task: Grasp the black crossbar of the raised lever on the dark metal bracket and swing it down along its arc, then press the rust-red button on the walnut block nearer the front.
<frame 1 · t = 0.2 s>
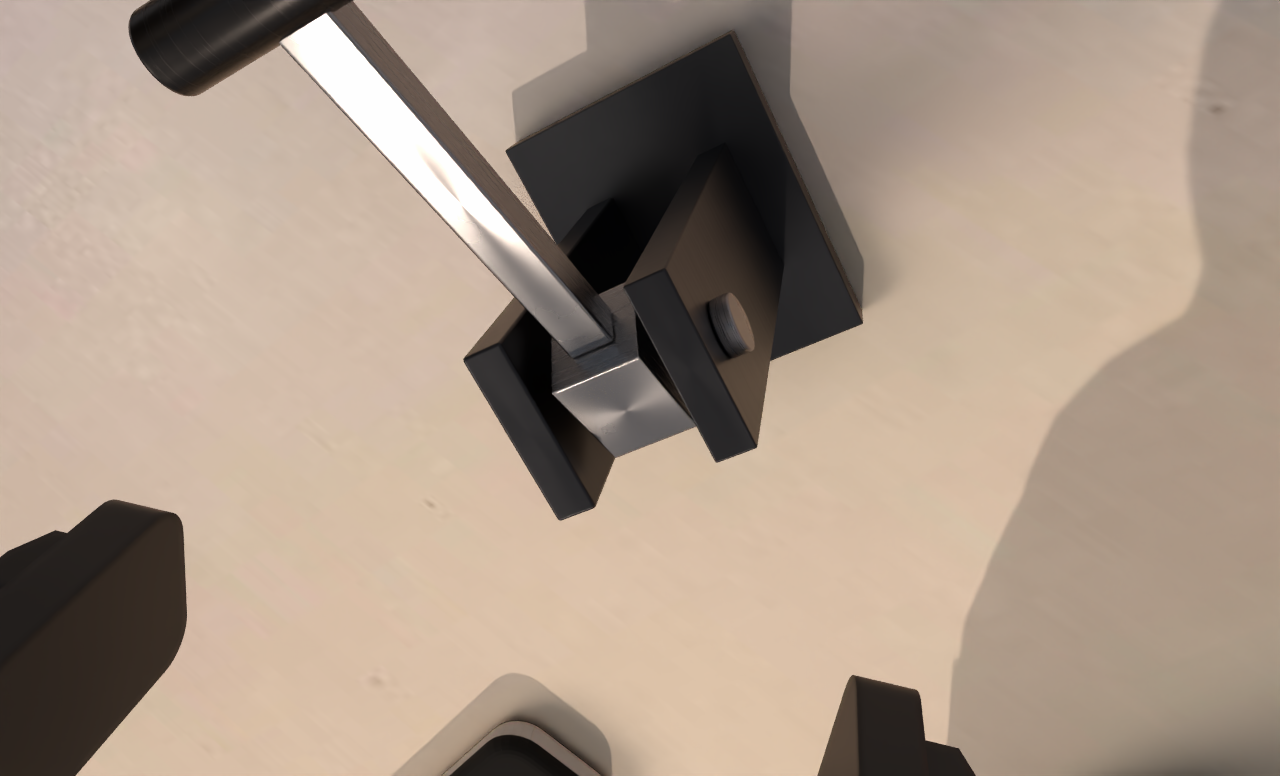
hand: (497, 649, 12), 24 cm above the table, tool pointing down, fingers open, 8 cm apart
lever: (493, 222, 21), point 14 cm above the table, hinge at 28.0°
bracket: (689, 227, 35), on the table
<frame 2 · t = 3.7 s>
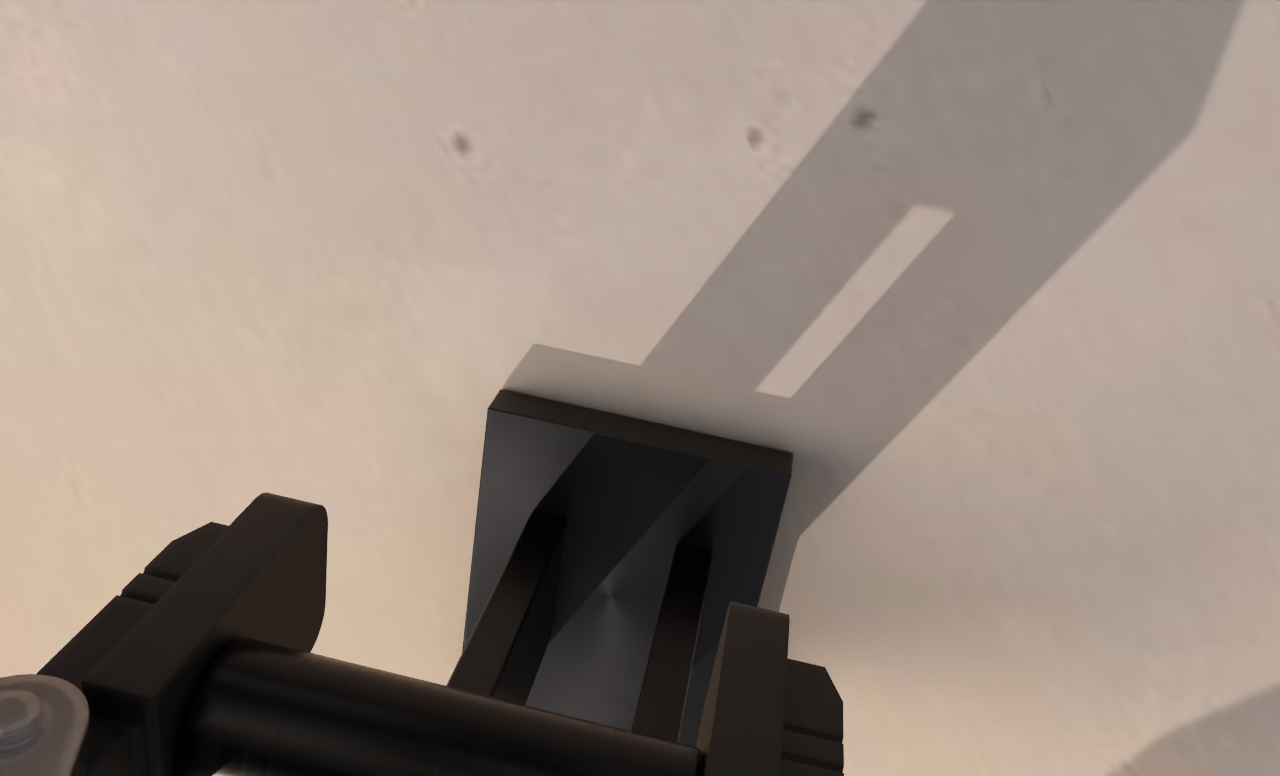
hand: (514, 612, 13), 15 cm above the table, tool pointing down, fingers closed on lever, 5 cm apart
bracket: (617, 571, 30), on the table
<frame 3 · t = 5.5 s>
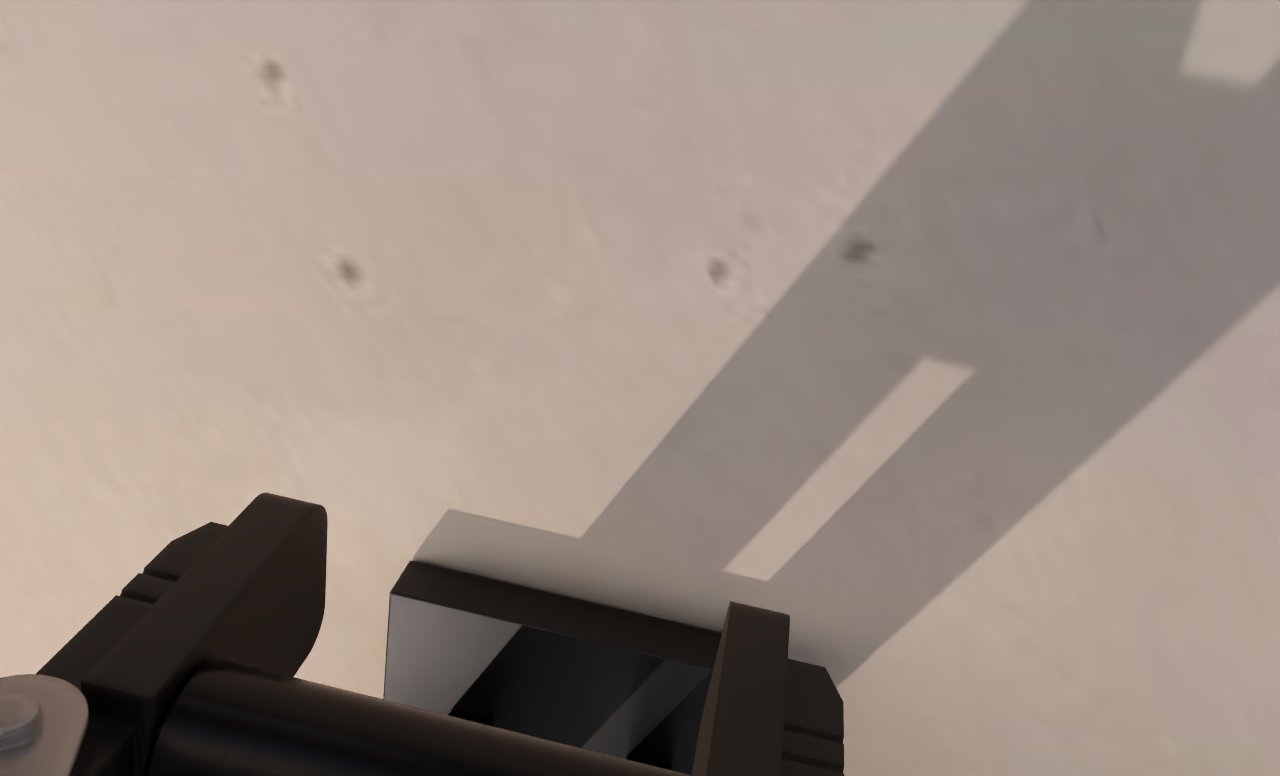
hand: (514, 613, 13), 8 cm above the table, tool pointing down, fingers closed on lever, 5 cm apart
bracket: (560, 769, 25), on the table
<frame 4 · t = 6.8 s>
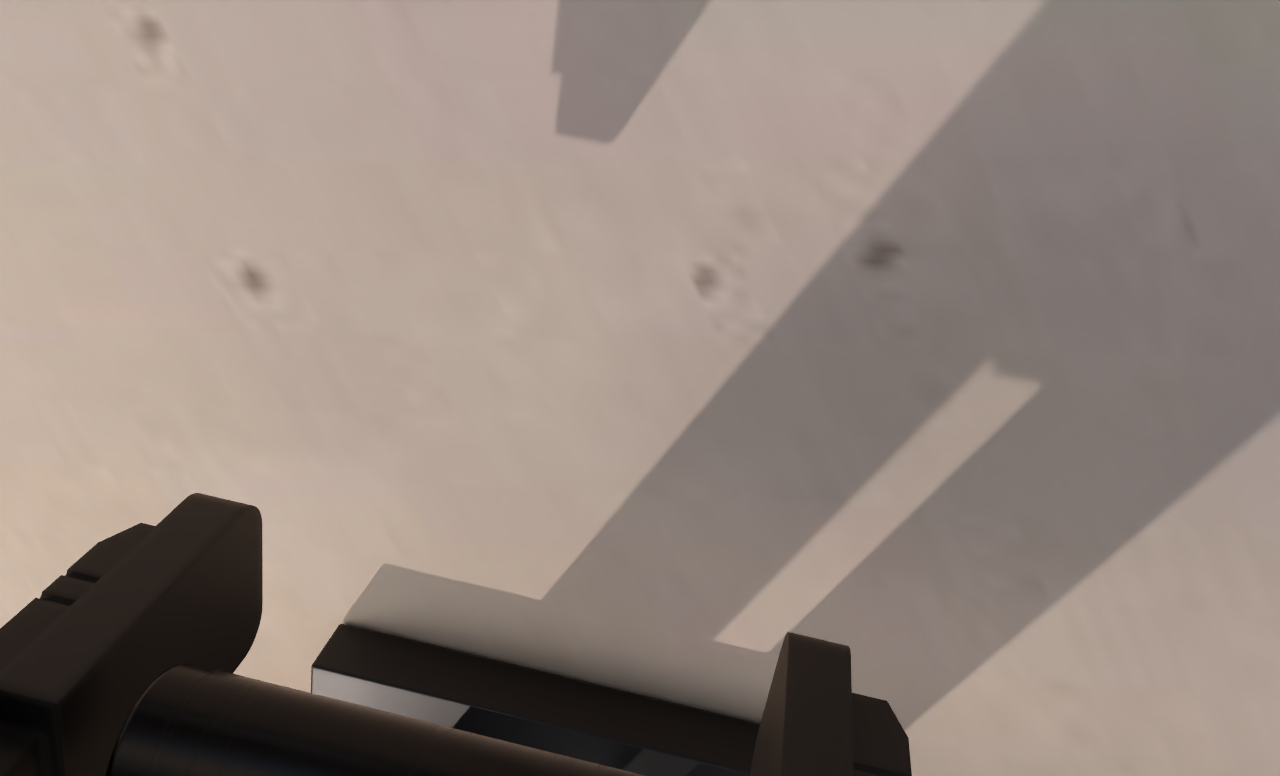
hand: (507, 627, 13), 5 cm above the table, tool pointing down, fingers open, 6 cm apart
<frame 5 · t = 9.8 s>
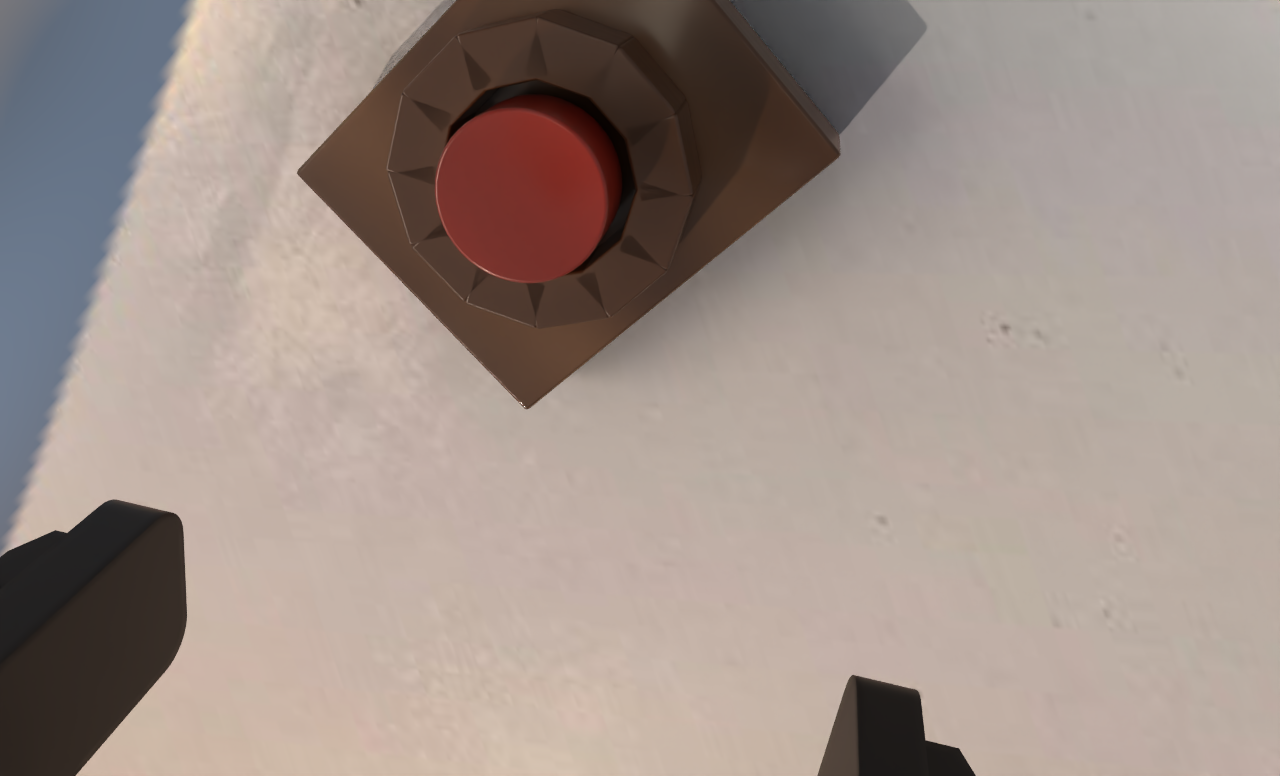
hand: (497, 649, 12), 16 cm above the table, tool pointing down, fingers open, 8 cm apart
button block: (576, 145, 26), on the table
button: (530, 188, 22), point 4 cm above the table, slide at 0.1 cm
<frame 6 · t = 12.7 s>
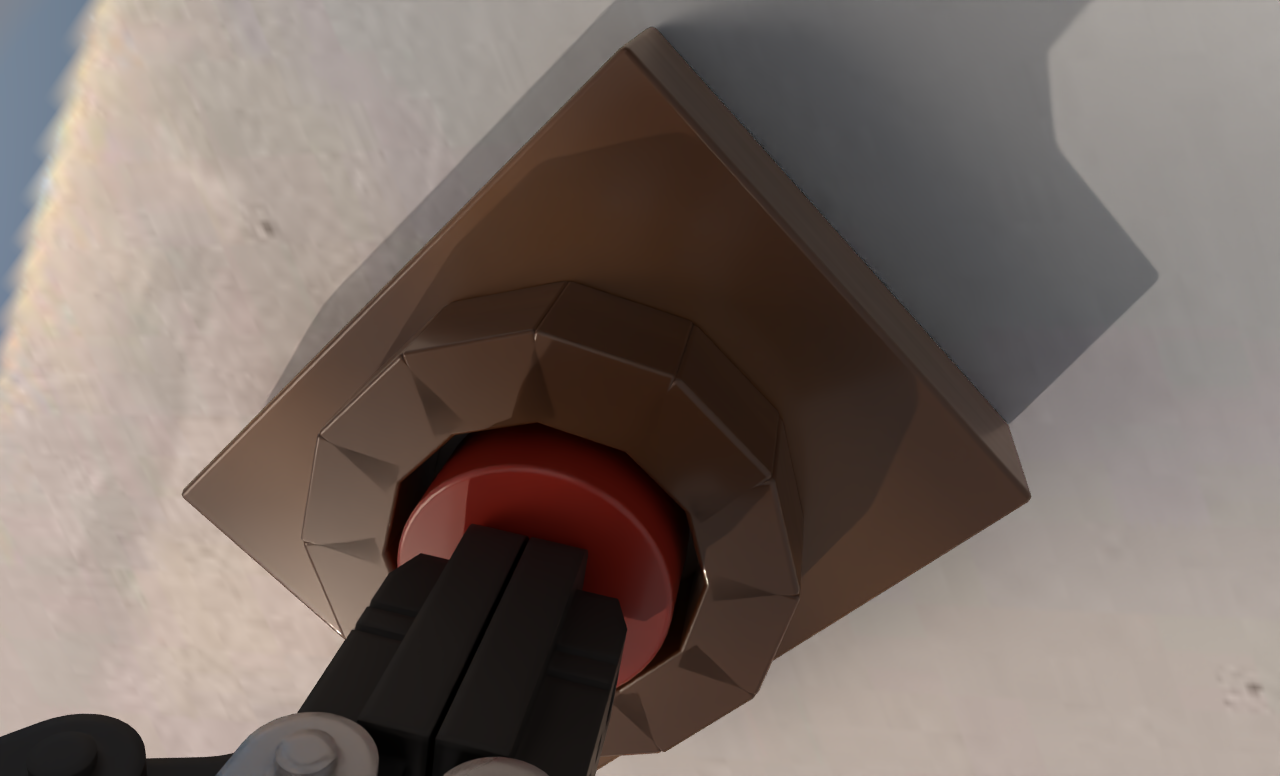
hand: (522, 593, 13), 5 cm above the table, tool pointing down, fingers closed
button block: (602, 429, 17), on the table
button: (548, 553, 14), point 4 cm above the table, slide at -0.8 cm, touching gripper
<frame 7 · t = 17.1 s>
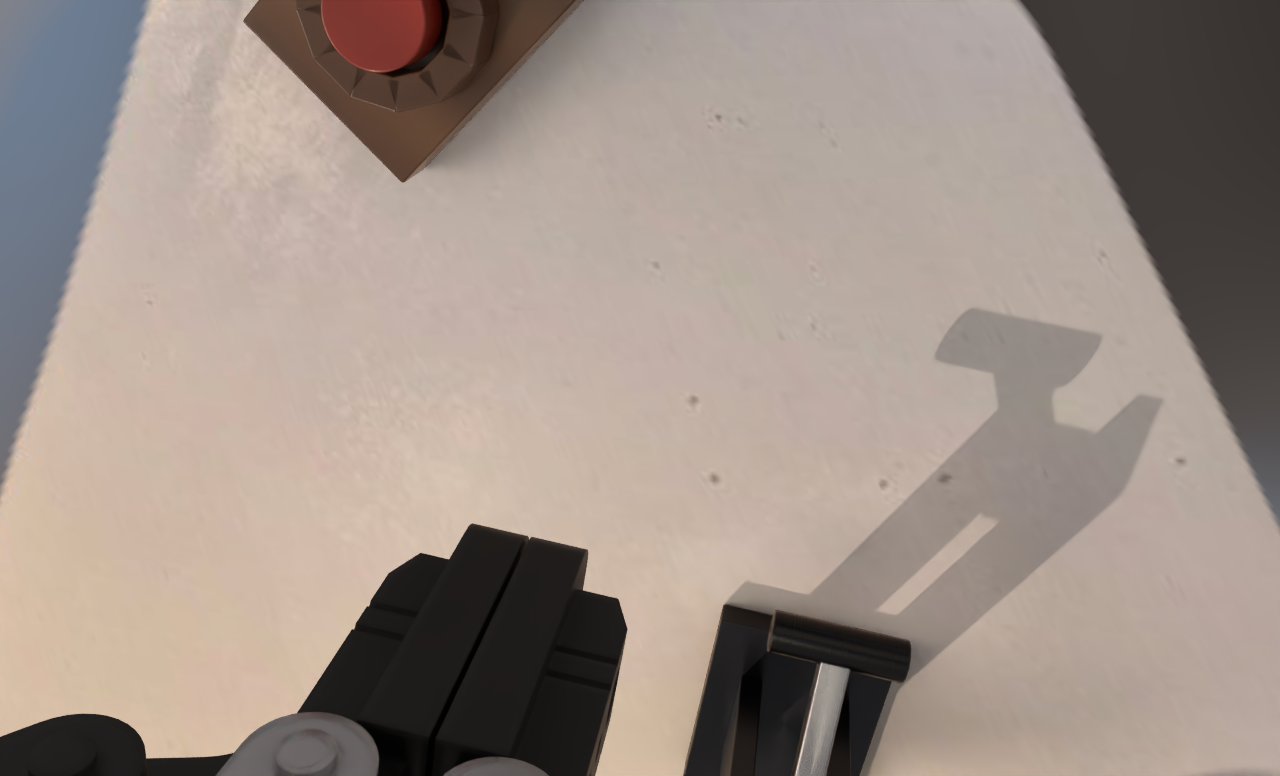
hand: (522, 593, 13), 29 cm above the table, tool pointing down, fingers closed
button block: (428, 1, 39), on the table
button: (382, 13, 35), point 4 cm above the table, slide at 0.1 cm
bracket: (785, 706, 50), on the table
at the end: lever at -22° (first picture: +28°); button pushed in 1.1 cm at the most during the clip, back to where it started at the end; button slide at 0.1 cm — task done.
